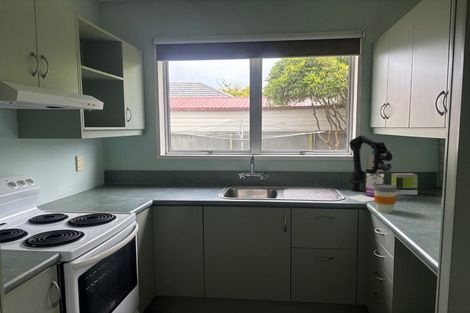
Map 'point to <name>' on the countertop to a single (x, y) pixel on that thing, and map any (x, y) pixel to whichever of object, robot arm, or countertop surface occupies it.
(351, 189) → the robot arm
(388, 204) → the reusable coffee cup
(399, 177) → the tea box
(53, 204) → the countertop surface
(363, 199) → the mat
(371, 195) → the candy bar box
